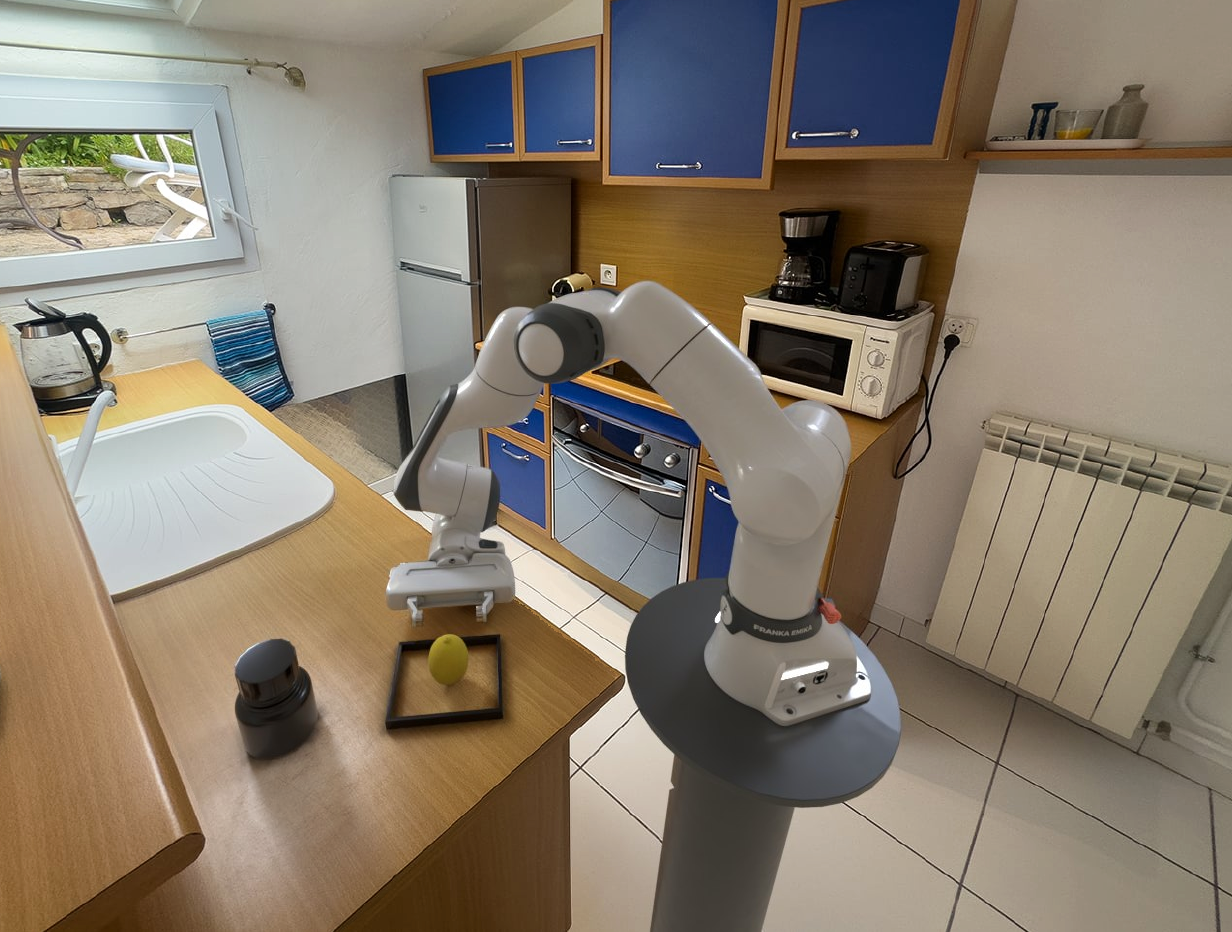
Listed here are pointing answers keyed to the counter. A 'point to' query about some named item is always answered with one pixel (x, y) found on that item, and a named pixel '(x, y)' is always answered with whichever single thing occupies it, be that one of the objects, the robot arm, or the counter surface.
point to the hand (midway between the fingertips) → (449, 621)
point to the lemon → (448, 659)
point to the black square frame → (447, 716)
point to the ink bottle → (273, 700)
